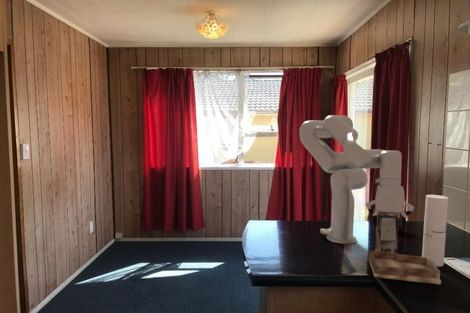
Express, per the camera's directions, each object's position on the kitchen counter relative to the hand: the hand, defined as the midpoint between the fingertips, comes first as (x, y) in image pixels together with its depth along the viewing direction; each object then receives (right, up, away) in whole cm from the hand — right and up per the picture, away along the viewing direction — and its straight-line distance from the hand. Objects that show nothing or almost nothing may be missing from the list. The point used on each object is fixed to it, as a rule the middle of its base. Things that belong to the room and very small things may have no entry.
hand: (388, 226), depth 137 cm
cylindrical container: (+14, -13, -5) cm, 20 cm away
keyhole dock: (-1, -13, -14) cm, 19 cm away
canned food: (+17, -9, +38) cm, 43 cm away
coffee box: (-1, -12, +2) cm, 12 cm away
